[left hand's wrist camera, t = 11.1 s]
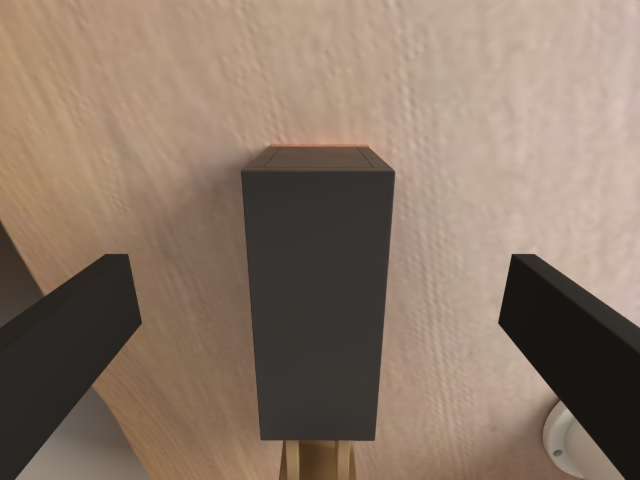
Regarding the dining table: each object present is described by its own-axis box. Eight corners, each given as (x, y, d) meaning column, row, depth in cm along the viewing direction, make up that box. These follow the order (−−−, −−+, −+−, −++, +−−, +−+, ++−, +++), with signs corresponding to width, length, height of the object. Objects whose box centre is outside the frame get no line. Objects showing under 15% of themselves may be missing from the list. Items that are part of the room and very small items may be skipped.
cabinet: (358, 336, 32) (375, 441, 22) (278, 335, 32) (260, 441, 22) (367, 145, 26) (395, 170, 16) (270, 144, 26) (240, 170, 16)
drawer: (347, 456, 36) (355, 561, 28) (289, 456, 36) (279, 561, 28) (355, 266, 29) (369, 332, 20) (282, 266, 29) (266, 331, 20)
